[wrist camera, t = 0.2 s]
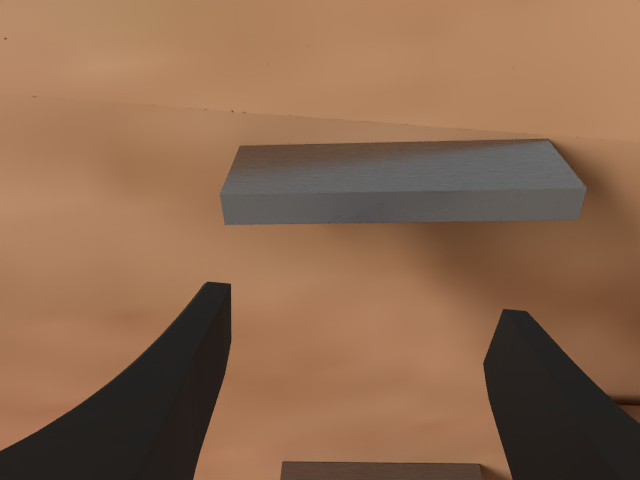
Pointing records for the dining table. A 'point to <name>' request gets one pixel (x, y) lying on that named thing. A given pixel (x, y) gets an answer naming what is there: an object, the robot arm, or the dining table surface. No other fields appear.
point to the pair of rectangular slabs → (398, 214)
